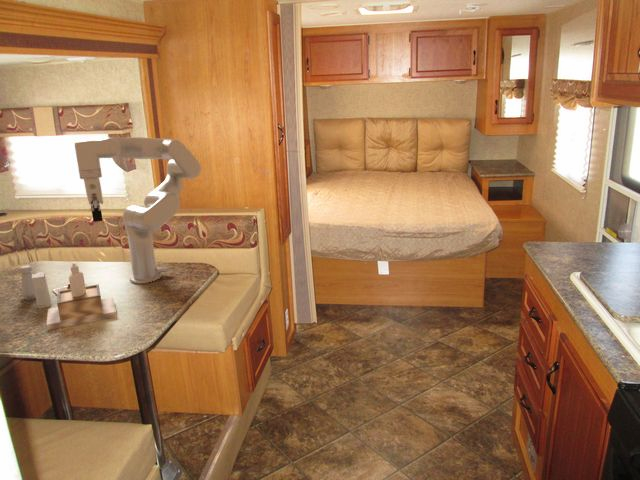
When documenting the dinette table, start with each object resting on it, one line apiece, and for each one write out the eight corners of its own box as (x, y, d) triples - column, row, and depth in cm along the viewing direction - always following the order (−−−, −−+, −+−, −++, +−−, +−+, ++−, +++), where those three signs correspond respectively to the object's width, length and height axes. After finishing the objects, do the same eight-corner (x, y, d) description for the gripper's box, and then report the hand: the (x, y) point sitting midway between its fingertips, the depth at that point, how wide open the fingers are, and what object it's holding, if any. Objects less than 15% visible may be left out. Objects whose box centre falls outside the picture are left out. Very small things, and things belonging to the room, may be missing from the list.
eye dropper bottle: (68, 295, 182) (62, 264, 178) (83, 290, 186) (78, 259, 182) (74, 298, 179) (69, 266, 175) (90, 293, 183) (84, 261, 180)
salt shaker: (32, 301, 198) (25, 269, 194) (19, 300, 199) (12, 268, 195) (42, 295, 203) (36, 264, 199) (30, 294, 204) (23, 263, 200)
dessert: (52, 292, 207) (50, 281, 206) (83, 284, 215) (81, 273, 213) (61, 301, 199) (59, 289, 197) (93, 292, 206) (91, 281, 205)
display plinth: (113, 302, 195) (110, 281, 193) (116, 316, 183) (113, 294, 180) (49, 313, 186) (44, 292, 184) (47, 330, 174) (43, 306, 172)
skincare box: (50, 306, 193) (45, 276, 189) (37, 309, 191) (31, 278, 187) (51, 300, 198) (45, 271, 194) (37, 303, 196) (31, 273, 192)
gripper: (102, 176, 185) (109, 222, 190) (100, 169, 200) (106, 212, 205) (79, 178, 182) (87, 225, 187) (79, 171, 197) (86, 214, 202)
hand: (97, 218), depth 196 cm, fingers open, 9 cm apart
